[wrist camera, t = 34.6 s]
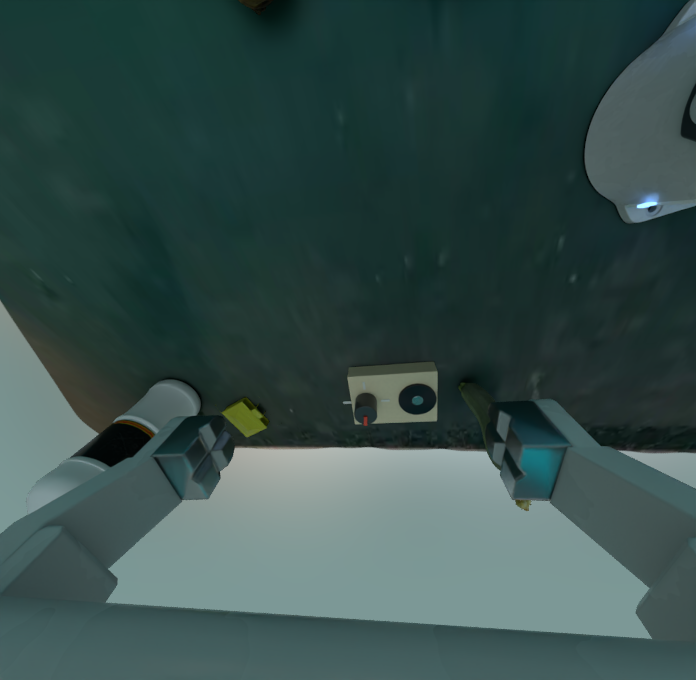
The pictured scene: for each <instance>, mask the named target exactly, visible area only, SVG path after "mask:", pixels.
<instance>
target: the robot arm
mask: <svg viewBox="0 0 696 680" xmlns="http://www.w3.org/2000/svg"><path fill="white" fill-rule="evenodd" d="M585 167H586V172H587V175H588V178H589V180H590V182H591V184H592V185H593V187H594V188H595V189H596V190H597V191H598V192H599V193H600V194H601V195H602V196H604V197H606V198H607V199H609V200H610V201H612V202H613V203H614V204H615V205H616V207H617V210H618V212H619V214H620V216H621V218H622V220H623V221H624V222H626V223H639V222H643V221H646V220H650V219H653V218H656V217H660V216H663V215H666V214H670V213H673V212H676V211H680V210H683V209H686V208H690V207H693V206H696V0H690V1H689V2H688V3H687V4H686V5H685V6H684V7H683V8H682V9H681V11H680V12H679V13H678V15H677V16H676V17H675V19H674V20H673V21H672V23H671V24H670V25H669V27H668V28H667V30H666V31H665V32H664V34H663V35H662V36H661V37H660V38H659V39H658V40H657V41H656V42H655V43H654V44H653V45H652V46H650V47H649V48H648V49H647V50H646V51H644V52H643V53H642V54H641V55H640V56H638V57H637V58H636V59H635V60H634V61H633V62H632V63H631V64H630V65H629V66H628V67H627V68H626V69H625V70H624V71H623V72H622V73H621V74H620V75H619V76H618V78H617V79H616V80H615V81H614V83H613V84H612V85H611V87H610V88H609V89H608V91H607V92H606V94H605V96H604V97H603V99H602V100H601V102H600V104H599V106H598V108H597V110H596V112H595V114H594V116H593V119H592V121H591V124H590V127H589V130H588V134H587V138H586V144H585ZM650 206H651V208H650V210H649V211H648V208H649V207H650ZM487 414H488V416H489V418H490V420H491V421H490V422H489V423H488V424H487V425H486V428H485V439H486V445H487V448H488V451H489V454H490V456H491V458H492V460H493V461H494V462H496V463H497V464H498V465H500V466H501V472H500V476H501V478H502V480H503V482H504V484H505V486H506V488H507V490H508V492H509V494H510V496H511V498H512V499H513V500H542V501H544V500H545V501H550V503H551V504H552V505H553V506H554V507H556V508H557V509H558V510H559V511H560V512H561V513H563V514H564V515H565V516H566V517H567V518H568V519H570V520H571V521H572V522H573V523H574V524H575V525H577V526H578V527H579V528H580V529H581V530H582V531H584V532H585V533H586V534H587V535H588V536H590V537H591V538H592V539H593V540H594V541H595V542H596V543H598V544H599V545H600V546H601V547H602V548H603V549H605V550H606V551H607V552H608V553H609V554H610V555H612V556H613V557H614V558H615V559H616V560H617V561H619V562H620V563H621V564H622V565H623V566H624V567H626V568H627V569H628V570H629V571H630V572H631V573H633V574H634V575H635V576H636V577H637V578H638V579H640V580H641V581H642V582H643V583H644V584H645V585H647V586H648V587H649V588H650V589H649V590H648V591H647V593H646V594H645V596H644V597H643V598H642V600H641V601H640V602H639V604H638V606H637V610H636V614H637V616H638V617H639V619H640V620H641V621H642V623H643V625H644V626H645V628H646V629H647V631H648V633H649V634H650V636H651V637H652V639H644V638H629V637H614V636H599V635H583V634H568V633H554V632H539V631H524V630H509V629H508V630H507V629H494V628H479V627H463V626H448V625H433V624H418V623H404V622H389V621H374V620H358V619H343V618H329V617H313V616H298V615H284V614H268V613H267V614H266V613H253V612H238V611H223V610H208V609H207V610H206V609H193V608H178V607H162V606H148V605H147V606H146V605H133V604H117V603H105V602H106V600H107V599H108V598H109V596H110V595H111V593H112V592H113V590H114V589H115V587H116V586H117V578H116V577H115V576H114V575H113V574H112V573H111V572H110V571H109V570H108V568H110V567H111V566H112V565H113V564H114V563H115V562H116V561H117V560H118V559H119V558H120V557H122V556H123V555H124V554H125V553H126V552H127V551H128V550H129V549H130V548H131V547H133V546H134V545H135V544H136V543H137V542H138V541H139V540H140V539H141V538H142V537H144V536H145V535H146V534H147V533H148V532H149V531H150V530H151V529H152V528H153V527H155V526H156V525H157V524H158V523H159V522H160V521H161V520H162V519H163V518H164V517H165V516H167V515H168V514H169V513H170V512H171V511H172V510H173V509H174V508H175V507H177V506H178V505H179V504H180V503H181V502H182V501H181V500H198V499H209V497H210V495H211V494H212V492H213V490H214V489H215V487H216V485H217V483H218V482H219V480H220V471H221V470H223V469H224V468H225V467H226V466H228V464H229V463H230V461H231V459H232V457H233V453H234V448H235V446H234V440H233V437H232V435H231V434H230V433H228V432H227V431H226V430H225V428H226V426H227V424H226V422H225V420H224V418H223V417H222V416H219V415H210V416H178V417H175V418H172V419H171V420H170V421H169V422H168V423H167V424H166V425H165V426H164V427H163V428H162V429H161V430H160V431H159V432H158V433H157V434H156V435H155V436H154V437H153V438H152V439H151V440H150V441H149V442H148V443H147V444H146V445H145V446H144V447H143V448H142V449H141V450H140V451H139V452H138V453H137V454H136V455H135V456H134V457H133V458H127V459H125V460H123V461H121V462H120V463H118V464H116V465H114V466H113V467H111V468H109V469H107V470H106V471H104V472H102V473H100V474H99V475H97V476H95V477H93V478H91V479H90V480H88V481H86V482H84V483H83V484H81V485H79V486H77V487H76V488H74V489H72V490H70V491H69V492H67V493H65V494H63V495H62V496H60V497H58V498H56V499H55V500H53V501H51V502H49V503H48V504H46V505H44V506H42V507H41V508H39V509H37V510H35V511H34V512H32V513H30V514H28V515H27V516H25V517H23V518H21V519H20V520H18V521H16V522H14V523H13V524H12V525H11V526H9V527H8V528H7V529H6V530H5V531H4V532H2V533H1V534H0V680H696V489H695V488H693V487H691V486H689V485H687V484H685V483H683V482H680V481H678V480H676V479H674V478H672V477H670V476H668V475H666V474H664V473H662V472H660V471H658V470H656V469H654V468H652V467H650V466H647V465H646V464H643V463H642V462H639V461H637V460H635V459H633V458H631V457H629V456H627V455H625V454H623V453H621V452H619V451H617V450H615V449H613V448H611V447H609V446H600V445H599V444H598V443H597V442H596V441H595V440H594V439H593V438H592V437H591V436H590V435H589V434H588V433H587V432H586V431H585V430H584V429H583V428H582V427H581V426H580V425H579V424H578V423H577V422H576V421H575V420H574V419H573V418H572V417H571V416H570V415H569V414H568V413H567V412H566V411H565V410H564V409H563V408H562V407H561V406H560V405H559V404H558V403H557V402H556V401H554V400H552V399H537V400H529V401H508V402H490V404H489V406H488V411H487Z"/></svg>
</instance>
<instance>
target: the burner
mask: <svg viewBox="0 0 696 680" xmlns="http://www.w3.org/2000/svg"><path fill="white" fill-rule="evenodd" d="M398 401H399V405H400V407H401V408H402V409H403V410H404V411H405V412H407V413H409V414H413V415H421V414H425V413H427V412H429V411H430V410H432V409H433V408H434V406H435V404H436V402H437V397H436V394H435V392H434V390H433V389H432V388H431V387H429V386H427V385H425V384H419V383H418V384H411V385H409V386H407V387H405V388H404V389H403V390H402V391H401V392H400V394H399V397H398Z"/></svg>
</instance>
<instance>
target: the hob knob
mask: <svg viewBox="0 0 696 680" xmlns="http://www.w3.org/2000/svg"><path fill="white" fill-rule="evenodd" d="M354 417H355V419H356V420H357V421H358V422H359V423H362V424H364V426H367V424H371V423H373V422H374V421H375V420H376V419H377V399H376V397H375V396H374V395H372V394H370V393H362V394H359V395H358V396H357V397H356V400H355V410H354Z"/></svg>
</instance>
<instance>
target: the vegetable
mask: <svg viewBox="0 0 696 680" xmlns="http://www.w3.org/2000/svg"><path fill="white" fill-rule="evenodd" d="M458 388H459V389H460V391H461V393H462V397H463V399H464V400H465V402H466V403H467V405H468V406H469V408H470V409H471V410H472V412H473V413H474V415H475V416H476V417H477V419H478V421H479V423H480V426H481V429H482V433H483V438H484V442H485V446H486V450H487V453H488V455H489V457H490V459H491V461H492V463H493V464H494V465H495V467H497V468H498V469H499V470H500V471H501V466H500V465H498V464H497V463H496V462H494V461H493V460H492V458H491V456H490V454H489V451H488V448H487V445H486V439H485V428H486V425H487V424H488V423H489V422H490V421H491V420H490V418H489V416H488V414H487V411H488V406H489V404H490V402H495V400H494V399H493V398H492V397H491V395H490V394H489V393H488V392H486V391H485V390H484V389H483V388H482V387H480V386H479V385H477V384H475V383H460V386H458ZM515 501H516V505H517V506H519V507H520V508H522V509H524V510H526V511H529V505H531V504H530V503H531V500H521V501H520V500H515Z"/></svg>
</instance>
